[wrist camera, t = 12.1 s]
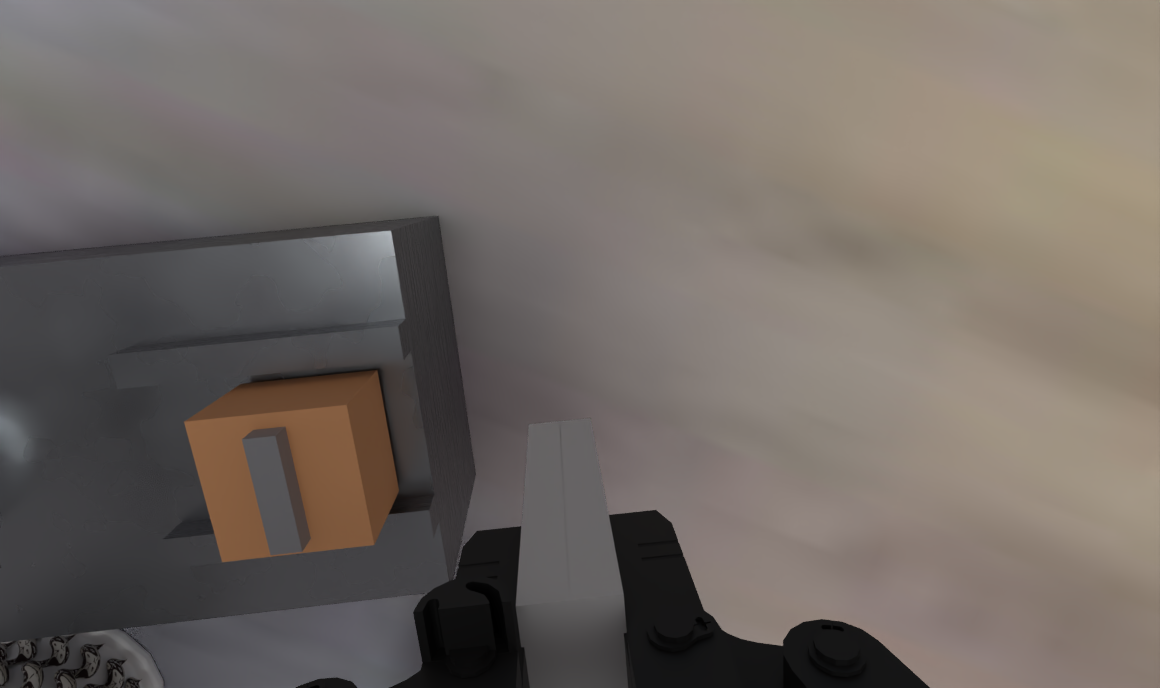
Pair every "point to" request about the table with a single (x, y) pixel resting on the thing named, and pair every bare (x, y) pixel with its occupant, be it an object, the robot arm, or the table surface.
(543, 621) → the robot arm
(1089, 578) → the table surface
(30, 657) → the decorative candle
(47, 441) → the hitch block
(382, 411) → the block
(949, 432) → the table surface
